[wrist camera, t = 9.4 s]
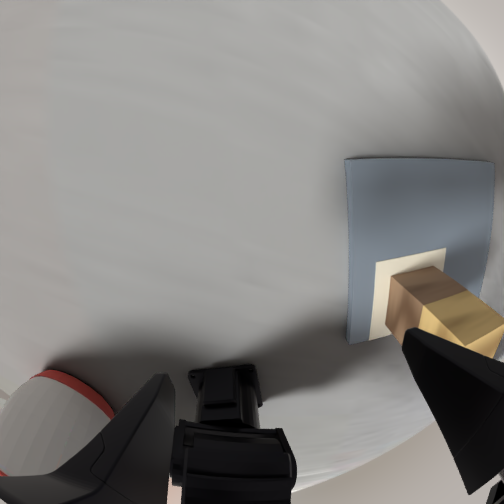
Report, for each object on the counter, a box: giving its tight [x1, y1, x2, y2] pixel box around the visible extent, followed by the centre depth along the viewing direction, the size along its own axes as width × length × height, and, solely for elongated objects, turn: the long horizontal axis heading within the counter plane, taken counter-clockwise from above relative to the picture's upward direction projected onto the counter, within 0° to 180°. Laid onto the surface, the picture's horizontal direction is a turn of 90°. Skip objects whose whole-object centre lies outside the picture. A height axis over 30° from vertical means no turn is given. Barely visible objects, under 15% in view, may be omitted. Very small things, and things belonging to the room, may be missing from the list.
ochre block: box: [418, 290, 504, 358], centre depth 14 cm, size 5×5×5 cm
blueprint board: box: [345, 158, 495, 345], centre depth 21 cm, size 16×18×1 cm
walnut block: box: [385, 266, 468, 346], centre depth 19 cm, size 5×5×5 cm
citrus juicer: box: [0, 370, 115, 476], centre depth 16 cm, size 16×17×20 cm
